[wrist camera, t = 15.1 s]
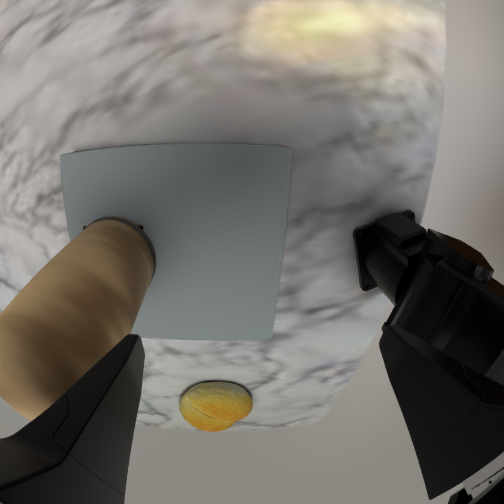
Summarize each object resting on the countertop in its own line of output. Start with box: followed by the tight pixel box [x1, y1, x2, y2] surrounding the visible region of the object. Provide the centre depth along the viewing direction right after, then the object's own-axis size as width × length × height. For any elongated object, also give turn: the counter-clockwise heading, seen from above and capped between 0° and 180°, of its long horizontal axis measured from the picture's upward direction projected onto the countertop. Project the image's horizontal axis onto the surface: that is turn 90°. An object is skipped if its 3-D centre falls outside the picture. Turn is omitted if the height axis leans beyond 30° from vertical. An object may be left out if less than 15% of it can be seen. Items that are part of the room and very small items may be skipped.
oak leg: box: [0, 216, 156, 421], centre depth 13 cm, size 6×6×15 cm
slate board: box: [60, 143, 294, 340], centre depth 20 cm, size 16×16×2 cm
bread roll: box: [179, 382, 253, 432], centre depth 28 cm, size 8×9×4 cm
